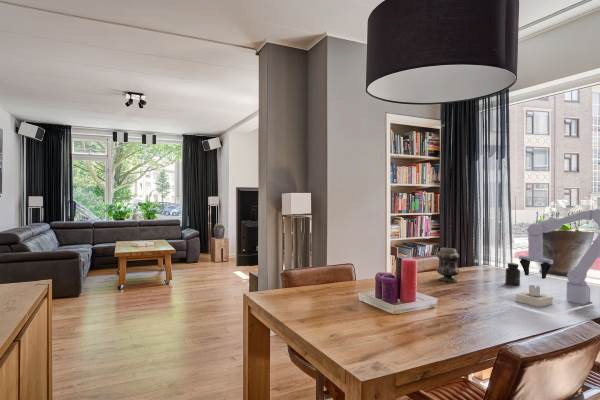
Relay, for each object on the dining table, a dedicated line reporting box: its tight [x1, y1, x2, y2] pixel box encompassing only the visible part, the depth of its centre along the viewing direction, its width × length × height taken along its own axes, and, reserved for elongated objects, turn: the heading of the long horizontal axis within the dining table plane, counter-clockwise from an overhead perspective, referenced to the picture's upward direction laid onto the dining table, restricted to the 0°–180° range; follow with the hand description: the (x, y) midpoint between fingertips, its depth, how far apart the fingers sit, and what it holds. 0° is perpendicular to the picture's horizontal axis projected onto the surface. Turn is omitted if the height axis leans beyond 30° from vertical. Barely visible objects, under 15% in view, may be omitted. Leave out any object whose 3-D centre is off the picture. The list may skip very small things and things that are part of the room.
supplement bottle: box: [504, 262, 521, 287], centre depth 192 cm, size 7×7×12 cm
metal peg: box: [528, 284, 541, 298], centre depth 159 cm, size 4×4×7 cm
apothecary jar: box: [436, 247, 460, 283], centre depth 204 cm, size 12×12×18 cm
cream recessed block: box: [499, 291, 567, 309], centre depth 164 cm, size 20×18×4 cm
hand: (535, 276), depth 172 cm, fingers open, 7 cm apart
